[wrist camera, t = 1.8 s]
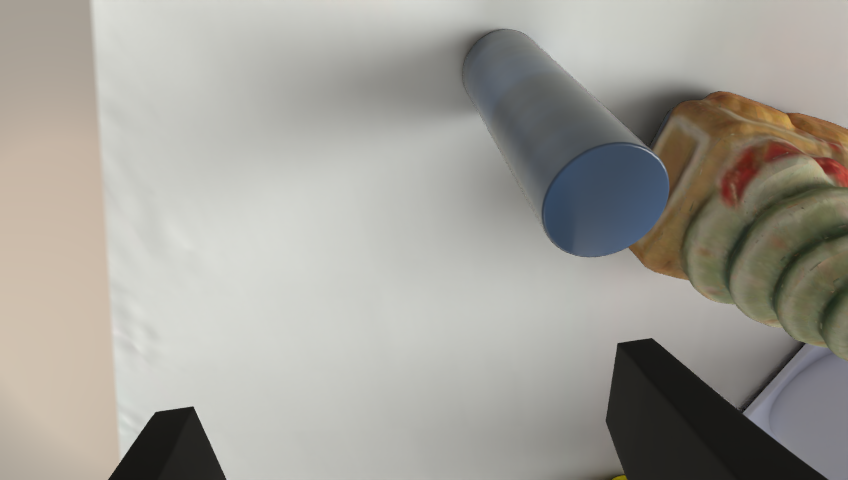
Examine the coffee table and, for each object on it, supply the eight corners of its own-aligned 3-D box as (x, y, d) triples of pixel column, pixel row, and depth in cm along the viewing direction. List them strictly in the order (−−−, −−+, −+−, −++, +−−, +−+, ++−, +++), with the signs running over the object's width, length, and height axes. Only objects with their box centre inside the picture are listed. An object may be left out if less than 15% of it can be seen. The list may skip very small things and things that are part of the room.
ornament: (864, 110, 19) (1256, 296, 11) (770, 258, 23) (1020, 489, 14) (656, 70, 18) (937, 255, 9) (586, 236, 21) (749, 484, 13)
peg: (555, 44, 17) (696, 163, 10) (521, 118, 18) (627, 269, 11) (480, 17, 16) (581, 126, 10) (450, 96, 17) (520, 243, 11)
